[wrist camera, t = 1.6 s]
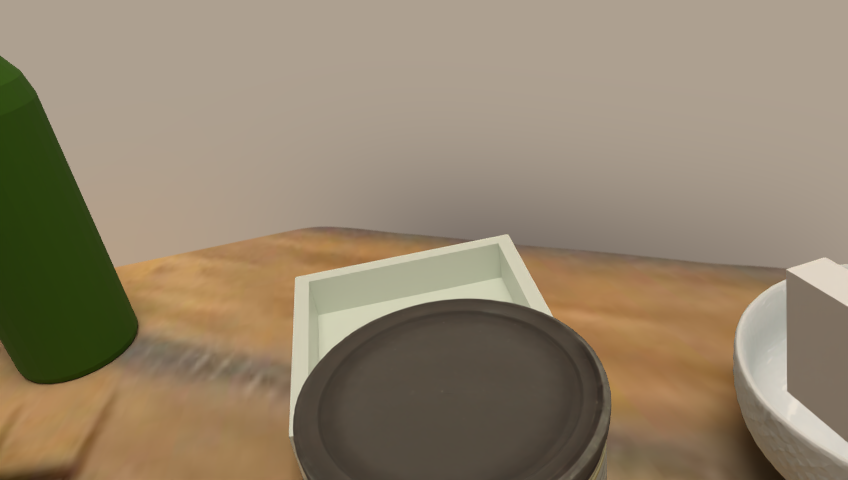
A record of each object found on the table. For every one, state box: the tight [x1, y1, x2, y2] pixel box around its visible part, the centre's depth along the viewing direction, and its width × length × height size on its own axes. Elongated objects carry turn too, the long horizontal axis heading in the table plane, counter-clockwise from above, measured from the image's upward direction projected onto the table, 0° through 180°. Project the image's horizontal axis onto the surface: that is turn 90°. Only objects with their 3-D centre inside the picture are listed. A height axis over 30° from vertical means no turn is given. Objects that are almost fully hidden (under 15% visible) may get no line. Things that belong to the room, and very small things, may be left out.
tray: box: [289, 234, 554, 480], centre depth 43 cm, size 16×16×4 cm
